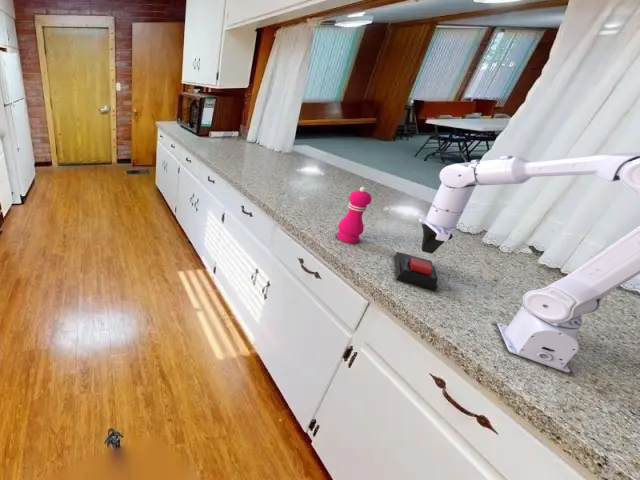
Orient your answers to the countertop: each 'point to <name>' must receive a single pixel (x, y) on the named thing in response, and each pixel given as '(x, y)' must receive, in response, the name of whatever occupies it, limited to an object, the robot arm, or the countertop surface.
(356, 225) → the pepper mill
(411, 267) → the block
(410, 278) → the press
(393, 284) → the countertop surface
